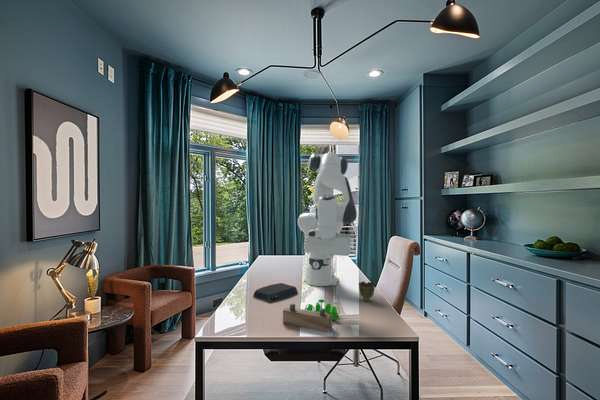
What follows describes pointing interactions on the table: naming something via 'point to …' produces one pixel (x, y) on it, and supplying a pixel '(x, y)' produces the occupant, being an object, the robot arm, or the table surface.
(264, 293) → the external hard drive
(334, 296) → the table surface
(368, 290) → the cup
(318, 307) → the chandelier
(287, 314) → the walnut block
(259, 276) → the table surface
